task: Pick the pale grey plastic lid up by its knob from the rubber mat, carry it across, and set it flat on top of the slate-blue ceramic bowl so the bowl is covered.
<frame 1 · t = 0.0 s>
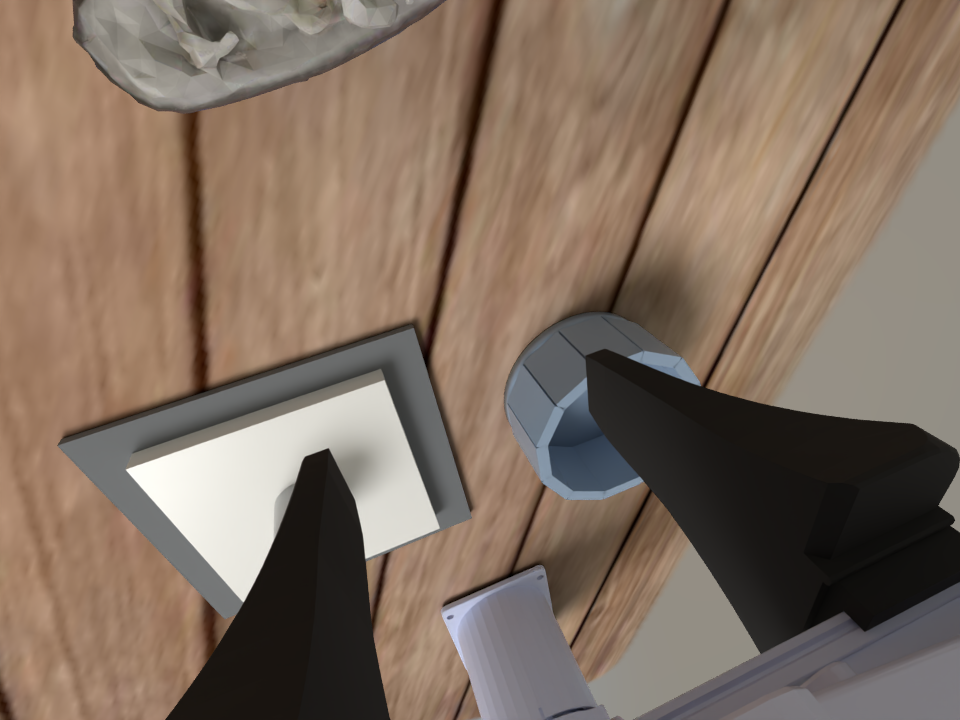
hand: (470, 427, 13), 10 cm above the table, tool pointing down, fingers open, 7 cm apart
bowl: (577, 383, 28), on the table
mat: (308, 484, 25), on the table
flask: (314, 6, 16), on the table
lid: (308, 489, 25), resting on mat
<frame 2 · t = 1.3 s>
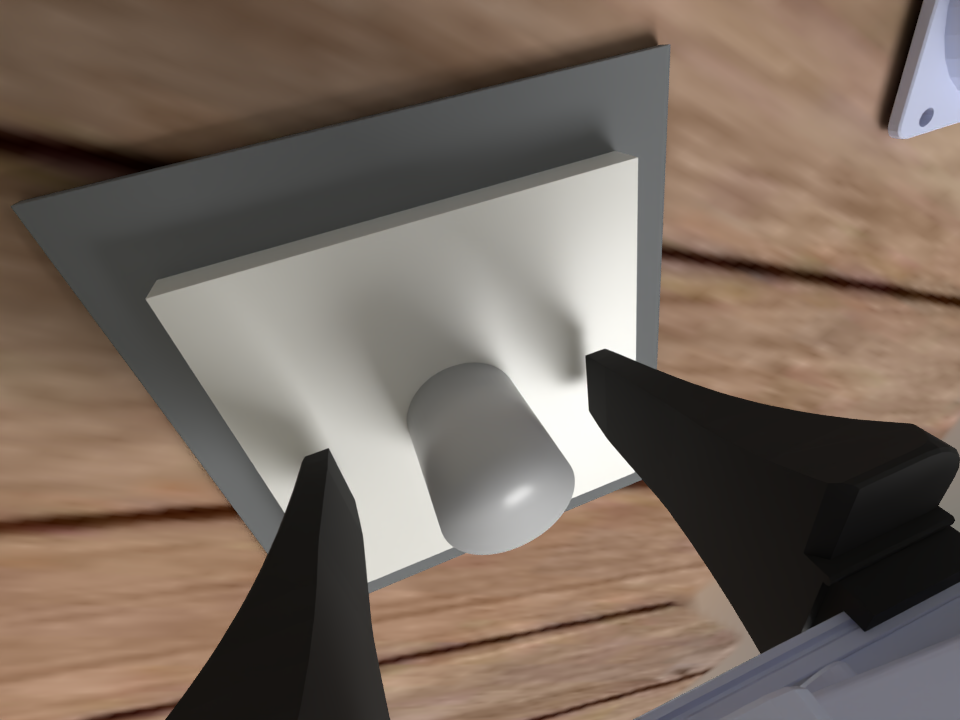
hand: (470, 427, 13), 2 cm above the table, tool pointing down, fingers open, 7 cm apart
mat: (450, 384, 15), on the table
lid: (453, 392, 14), resting on mat
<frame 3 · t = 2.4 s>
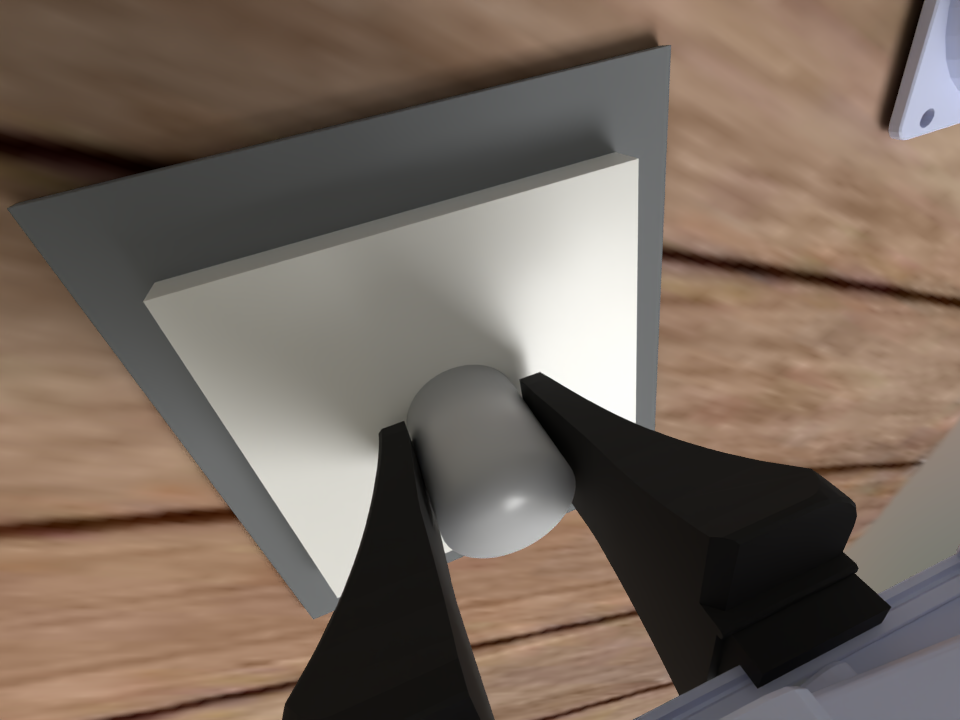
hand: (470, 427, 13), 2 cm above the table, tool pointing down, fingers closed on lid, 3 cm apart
mat: (449, 386, 15), on the table
lid: (453, 394, 14), resting on mat, touching gripper
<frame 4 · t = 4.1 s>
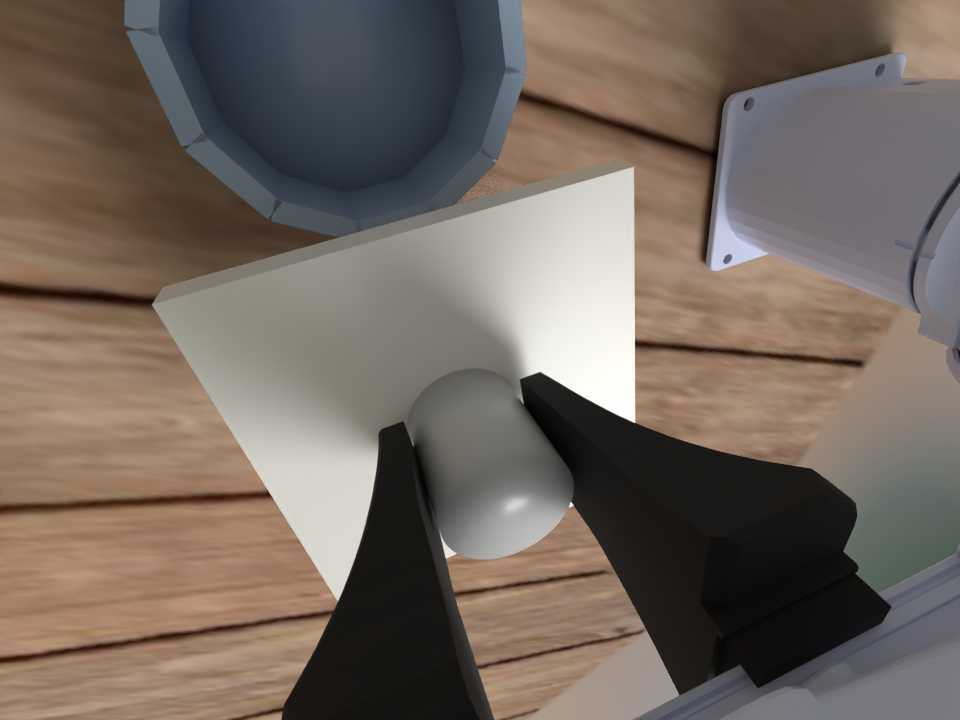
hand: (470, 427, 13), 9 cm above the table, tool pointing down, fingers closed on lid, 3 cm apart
bowl: (336, 54, 15), on the table
lid: (454, 398, 14), point 7 cm above the table, touching gripper
when the fingers open (7 cm above the table, at t = 5.8 s): lid stays where it is, resting on bowl.
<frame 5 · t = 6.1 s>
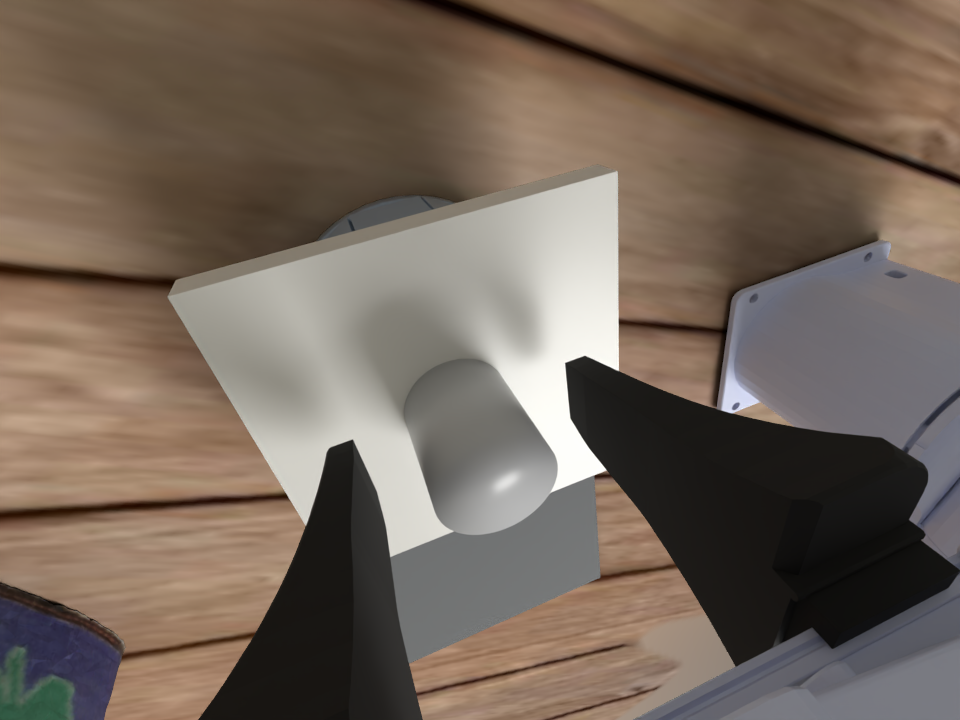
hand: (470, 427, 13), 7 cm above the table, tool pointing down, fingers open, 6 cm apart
bowl: (414, 315, 19), on the table
mat: (483, 548, 27), on the table
flask: (28, 615, 20), on the table
lid: (447, 386, 15), point 4 cm above the table, touching bowl
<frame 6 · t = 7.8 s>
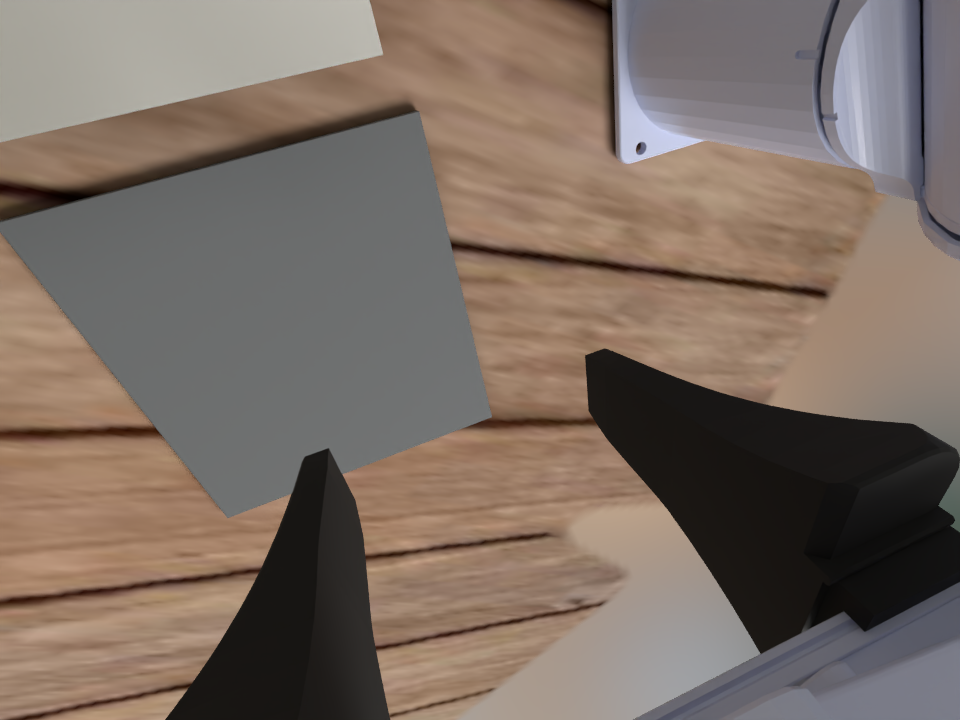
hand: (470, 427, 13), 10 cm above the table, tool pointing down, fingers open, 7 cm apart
mat: (308, 341, 21), on the table
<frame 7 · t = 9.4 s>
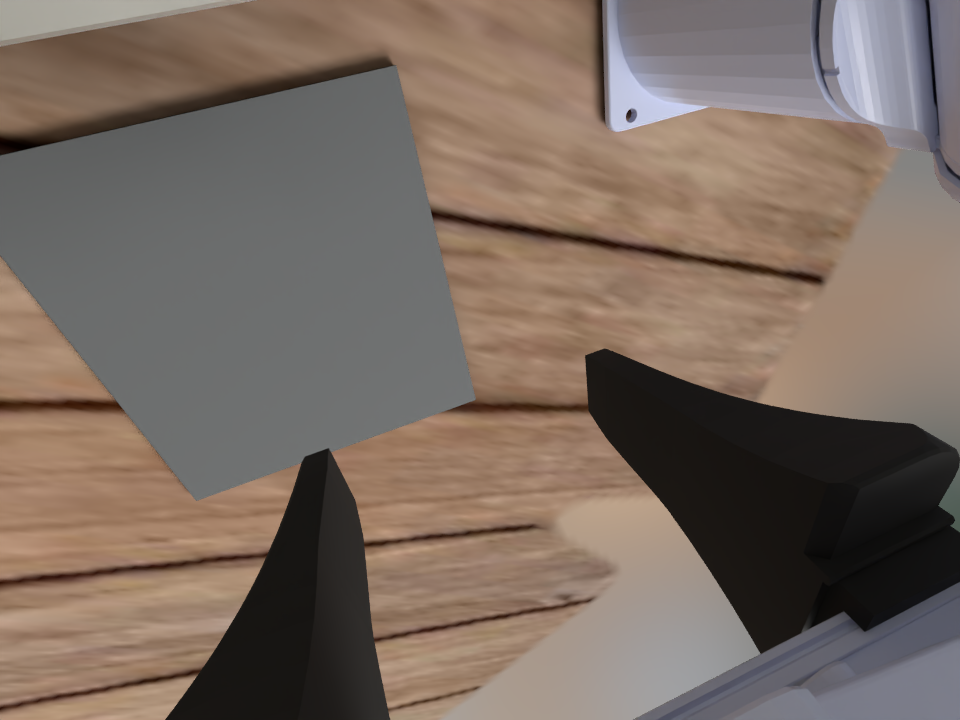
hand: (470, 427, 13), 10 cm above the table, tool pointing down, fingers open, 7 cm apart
mat: (280, 313, 20), on the table
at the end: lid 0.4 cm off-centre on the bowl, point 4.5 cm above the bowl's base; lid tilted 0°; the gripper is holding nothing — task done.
